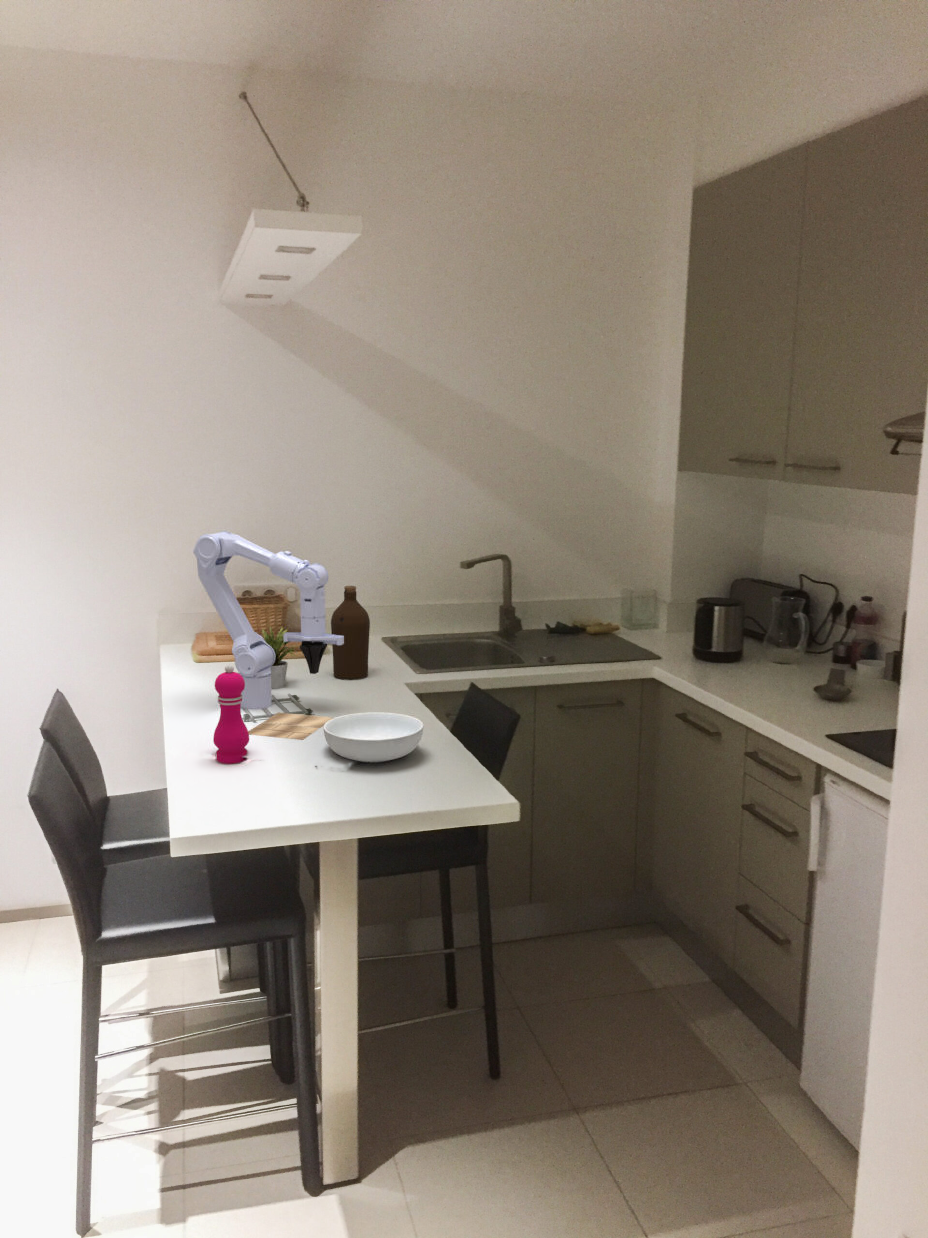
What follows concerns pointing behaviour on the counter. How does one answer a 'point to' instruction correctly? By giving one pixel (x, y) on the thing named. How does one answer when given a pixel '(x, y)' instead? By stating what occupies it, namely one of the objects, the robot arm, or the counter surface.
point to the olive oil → (350, 637)
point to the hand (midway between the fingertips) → (314, 672)
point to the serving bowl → (373, 736)
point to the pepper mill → (230, 718)
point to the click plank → (298, 720)
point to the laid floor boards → (282, 731)
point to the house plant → (278, 666)
